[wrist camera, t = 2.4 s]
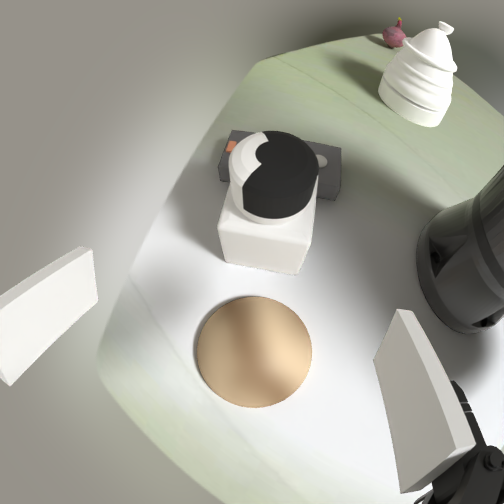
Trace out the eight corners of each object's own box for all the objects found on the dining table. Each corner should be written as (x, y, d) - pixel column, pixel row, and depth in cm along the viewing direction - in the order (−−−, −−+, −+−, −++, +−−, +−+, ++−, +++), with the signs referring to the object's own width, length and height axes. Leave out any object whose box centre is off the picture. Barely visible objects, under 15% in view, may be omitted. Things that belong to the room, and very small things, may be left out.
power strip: (336, 161, 32) (341, 146, 30) (334, 200, 30) (341, 185, 28) (233, 144, 34) (231, 128, 31) (220, 180, 31) (217, 164, 29)
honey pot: (403, 80, 43) (427, 10, 26) (450, 120, 38) (487, 49, 22) (364, 87, 40) (387, 1, 24) (418, 133, 36) (461, 43, 19)
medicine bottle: (306, 213, 29) (330, 129, 18) (297, 277, 27) (326, 209, 16) (240, 202, 30) (233, 114, 19) (224, 263, 27) (205, 188, 16)
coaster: (263, 277, 27) (263, 275, 26) (332, 358, 23) (334, 358, 23) (177, 340, 24) (175, 340, 24) (244, 427, 21) (244, 429, 20)
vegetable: (406, 53, 50) (415, 23, 40) (395, 55, 48) (405, 23, 39) (387, 42, 52) (395, 13, 42) (375, 44, 50) (383, 12, 41)
